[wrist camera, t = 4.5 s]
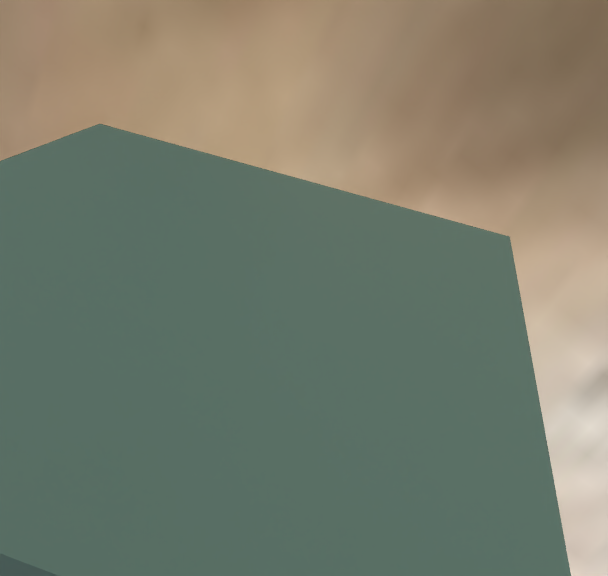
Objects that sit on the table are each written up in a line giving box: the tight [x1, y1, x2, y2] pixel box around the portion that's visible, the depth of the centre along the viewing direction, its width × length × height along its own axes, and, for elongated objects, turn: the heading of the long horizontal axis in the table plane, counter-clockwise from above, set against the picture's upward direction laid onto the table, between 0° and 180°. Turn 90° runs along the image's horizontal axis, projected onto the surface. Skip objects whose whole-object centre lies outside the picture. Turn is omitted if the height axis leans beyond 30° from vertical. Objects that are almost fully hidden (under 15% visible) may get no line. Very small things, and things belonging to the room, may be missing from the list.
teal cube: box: [0, 124, 571, 576], centre depth 7 cm, size 6×6×6 cm
